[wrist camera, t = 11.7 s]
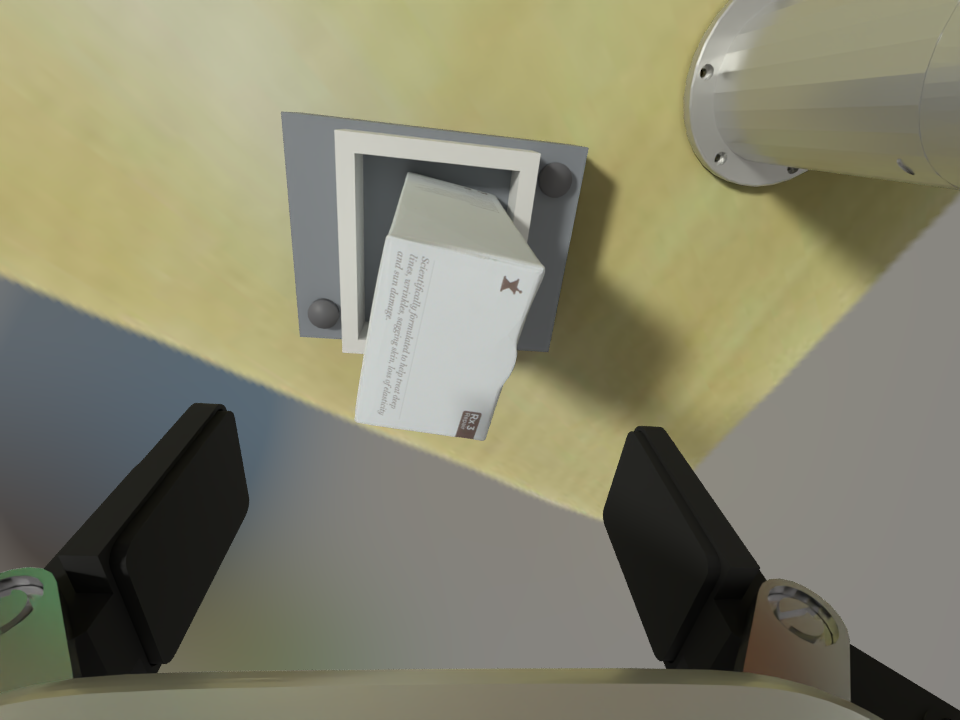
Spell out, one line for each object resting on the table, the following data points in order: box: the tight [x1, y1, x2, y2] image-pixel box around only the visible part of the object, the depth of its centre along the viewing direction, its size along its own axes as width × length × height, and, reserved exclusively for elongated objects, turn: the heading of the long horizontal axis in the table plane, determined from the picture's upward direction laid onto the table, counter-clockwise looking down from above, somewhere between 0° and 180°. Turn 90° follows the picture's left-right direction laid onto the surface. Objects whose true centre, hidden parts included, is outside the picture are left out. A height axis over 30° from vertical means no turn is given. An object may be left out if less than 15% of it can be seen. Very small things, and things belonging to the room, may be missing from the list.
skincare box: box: [355, 172, 545, 441], centre depth 23 cm, size 8×6×15 cm
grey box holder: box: [281, 112, 588, 354], centre depth 30 cm, size 18×14×7 cm
